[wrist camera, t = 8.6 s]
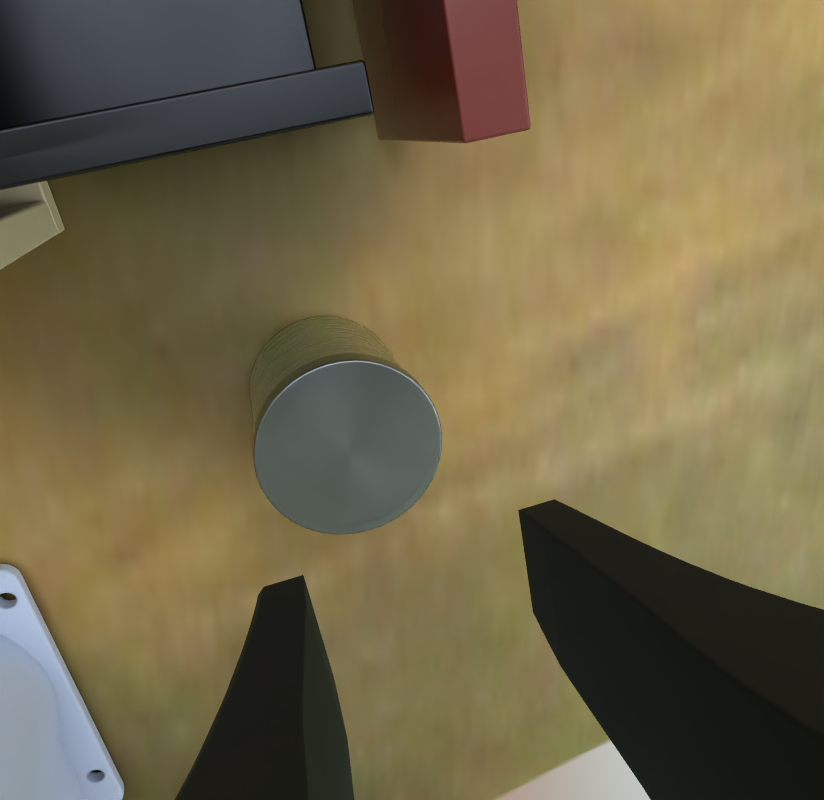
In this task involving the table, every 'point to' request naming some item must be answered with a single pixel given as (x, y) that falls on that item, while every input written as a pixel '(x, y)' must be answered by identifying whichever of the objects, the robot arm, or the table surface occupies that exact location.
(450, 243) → the table surface
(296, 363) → the tin
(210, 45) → the drawer
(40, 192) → the cabinet
